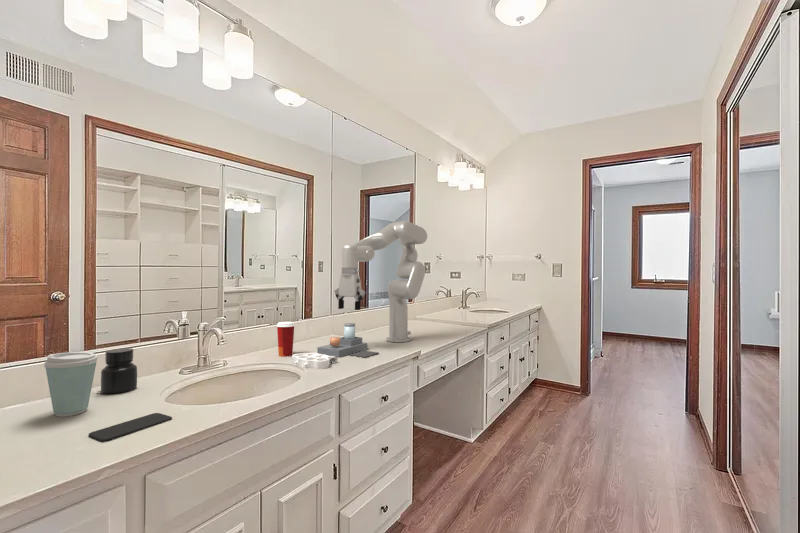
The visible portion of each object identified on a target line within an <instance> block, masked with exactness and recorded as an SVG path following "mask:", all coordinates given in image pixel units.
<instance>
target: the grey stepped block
mask: <svg viewBox="0 0 800 533" xmlns="http://www.w3.org/2000/svg"><path fill="white" fill-rule="evenodd" d="M363 350H364V351H368V342H363V337H361V336H355V339H352V340H349V339H344V336H340V345H338V346H337V348H333V346H331V345H330V344H326V345H321V346H318V347H317V353H318V354H325V355H328V356H335V357H337V358H338V357H339V358H342V356H343V357H346V356H350V355H349V354H352V353H353V354H354V353H356V352H359V351H360V352H361V351H363ZM345 355H346V356H345Z"/></svg>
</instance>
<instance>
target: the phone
mask: <svg viewBox="0 0 800 533" xmlns="http://www.w3.org/2000/svg"><path fill="white" fill-rule="evenodd" d="M172 420H173V417H172V416H170V415H166V414H164V413H160V412H154V413H150V414H147V415H143V416H140V417H137V418H134V419H130V420H127V421H123V422H120V423H117V424H114V425H110V426H108V427H104V428H101V429H98V430H94V431H92V432H89V433H88V438H90V439H92V440H96V441H97V442H100V443H107V442H111V441H114V440H117V439H119V438H122V437H125V436H128V435H131V434H134V433H137V432H140V431H143V430H146V429H149V428H151V427H155V426H158V425H161V424H163V423H166V422H169V421H172Z"/></svg>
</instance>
